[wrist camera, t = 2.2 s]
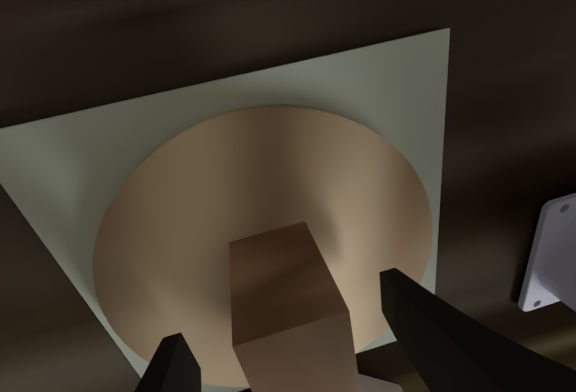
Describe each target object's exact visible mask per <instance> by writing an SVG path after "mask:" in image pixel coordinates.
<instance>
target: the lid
mask: <svg viewBox="0 0 576 392" xmlns="http://www.w3.org/2000/svg"><path fill="white" fill-rule="evenodd" d="M432 237H433V227H432V214H431V209H430V203H429V199H428V197H427V194H426V191H425V188H424V186H423V183H422V182H421V180H420V178H419V176H418V175H417V173H416V171H415V169H414V168H413V167H412V165H411V164H410V163H409V162H408V160H407V159H406V158H405V157H404V156H403V154H402V153H401V152H400V151H399V150H397V149H396V148H395V147H394V146H393V145H392V144H391V143H389V142H388V141H387V140H386V139H385V138H383V137H381V136H380V135H378V134H377V133H375V132H373V131H372V130H370V129H369V128H367V127H365V126H363V125H361V124H359V123H357V122H355V121H352V120H350V119H348V118H345V117H343V116H341V115H338V114H336V113H333V112H329V111H325V110H321V109H317V108H314V107H307V106H298V105H289V104H277V105H257V106H251V107H245V108H239V109H234V110H231V111H227V112H224V113H221V114H218V115H214V116H211V117H208V118H206V119H204V120H202V121H200V122H197V123H195V124H193V125H191V126H189V127H187V128H185V129H183V130H181V131H180V132H178V133H177V134H175V135H174V136H172V137H171V138H169V139H168V140H166V141H164V142H163V143H162V144H160V145H159V146H158V147H157V148H156V149H155V150H154V151H153V152H151V153H150V154H149V155H148V156H147V157H146V158H145V159H143V160H142V162H141V163H140V164H139V165H138V166H137V168H136V169H135V170H134V171H133V172H132V174H131V175H130V176H129V177H128V178H127V180H126V181H125V182H124V183H123V185H122V186H121V187H120V188H119V190H118V191H117V193H116V195H115V196H114V198H113V200H112V201H111V203H110V205H109V206H108V208H107V210H106V211H105V214H104V216H103V219H102V222H101V224H100V227H99V229H98V232H97V236H96V241H95V246H94V251H93V280H94V286H95V291H96V296H97V299H98V301H99V304H100V307H101V309H102V312H103V314H104V316H105V318H106V319H107V321H108V323H109V324H110V326H111V328H112V329H113V331H114V332H115V333H116V334H117V335H118V336H119V338H120V339H121V340H122V341H123V342H124V344H126V345H127V346H128V347H129V348H130V349H131V350H132V351H133V352H135V353H136V354H137V355H138V356H140V357H141V358H143V359H144V360H146V361H147V362H149V363H150V361H151V359H152V357H153V355H154V353H155V351H156V350H157V348H158V346H159V344H160V342H161V340H162V339H163V338H164V337H167V336H170V335H173V334H177V333H180V332H181V333H182V335H183V337H184V339H185V340H186V342H187V344H188V346H189V348H190V350H191V351H192V353H193V355H194V357H195V359H196V360H197V362H198V364H199V366H200V368H201V383H202V384H208V385H215V386H224V387H250V388H251V391H252V392H360V384H359V377H358V370H357V363H356V355H355V354H356V353H357V352H359V351H360V350H362V349H363V348H365V347H366V346H367V345H369V344H370V343H371V342H372V341H374V340H375V339H376V338H377V337H379V336H380V335H381V334H382V333H383V332H384V331H385V330H386V329H387V328H388V327H389V325H388V323H387V321H386V319H385V317H384V315H383V313H382V309H381V292H380V276H379V272H382V271H385V270H388V269H392V268H397V269H398V270H400V271H401V272H403V273H404V274H405V275H407V276H408V277H410V278H411V279H413V280H414V281H415V282H417V283H418V284H420V283H421V280H422V278H423V275H424V273H425V270H426V268H427V264H428V260H429V256H430V252H431V245H432Z"/></svg>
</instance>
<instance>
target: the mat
mask: <svg viewBox="0 0 576 392" xmlns="http://www.w3.org/2000/svg"><path fill="white" fill-rule="evenodd" d="M449 39H450V28H447V29H440V30H436V31H431V32H427V33H423V34H418V35H414V36H409V37H405V38H400V39H396V40H391V41H387V42H383V43H378V44H374V45H369V46H365V47H360V48H356V49H351V50H347V51H343V52H338V53H334V54H329V55H325V56H320V57H316V58H311V59H307V60H303V61H298V62H294V63H289V64H285V65H280V66H276V67H271V68H267V69H263V70H258V71H254V72H249V73H245V74H240V75H236V76H231V77H227V78H223V79H218V80H214V81H209V82H205V83H200V84H196V85H191V86H187V87H183V88H178V89H174V90H169V91H165V92H160V93H156V94H151V95H147V96H143V97H138V98H134V99H129V100H125V101H120V102H116V103H111V104H107V105H103V106H98V107H94V108H89V109H85V110H80V111H76V112H71V113H67V114H63V115H58V116H54V117H49V118H45V119H40V120H36V121H31V122H27V123H23V124H18V125H14V126H9V127H5V128H0V184H1V185H2V186H3V188H4V189H5V190H6V192H7V193H8V195H9V196H10V197H11V199H12V200H13V202H14V203H15V204H16V206H17V207H18V208H19V210H20V211H21V213H22V214H23V215H24V217H25V218H26V220H27V221H28V222H29V224H30V225H31V226H32V228H33V229H34V231H35V232H36V233H37V235H38V236H39V237H40V239H41V240H42V242H43V243H44V244H45V246H46V247H47V249H48V250H49V251H50V253H51V254H52V255H53V257H54V258H55V260H56V261H57V262H58V264H59V265H60V267H61V268H62V269H63V271H64V272H65V273H66V275H67V276H68V278H69V279H70V280H71V282H72V283H73V284H74V286H75V287H76V289H77V290H78V291H79V293H80V294H81V296H82V297H83V298H84V300H85V301H86V302H87V304H88V305H89V307H90V308H91V309H92V311H93V312H94V313H95V315H96V316H97V318H98V319H99V320H100V322H101V323H102V325H103V326H104V327H105V329H106V330H107V331H108V333H109V334H110V336H111V337H112V338H113V340H114V341H115V343H116V344H117V345H118V347H119V348H120V349H121V351H122V352H123V354H124V355H125V356H126V358H127V359H128V360H129V362H130V363H131V365H132V366H133V367H134V369H135V370H136V372H137V373H138V374H139V376H140V377H141V378H142V376H143V374H144V373H145V371H146V369H147V367H148V365H149V362H147V361H146V360H144V359H143V358H141V357H140V356H138V355H137V354H136V353H135V352H133V351H132V350H131V349H130V348H129V347H128V346H127V345H126V344H124V342H123V341H122V340H121V339H120V338H119V336H118V335H117V334H116V333H115V332H114V331H113V329H112V328H111V326H110V324H109V323H108V321H107V319H106V318H105V316H104V314H103V312H102V309H101V307H100V304H99V301H98V299H97V296H96V291H95V286H94V280H93V251H94V246H95V241H96V236H97V232H98V229H99V227H100V224H101V222H102V219H103V216H104V214H105V211H106V210H107V208H108V206H109V205H110V203H111V201H112V200H113V198H114V196H115V195H116V193H117V191H118V190H119V188H120V187H121V186H122V185H123V183H124V182H125V181H126V180H127V178H128V177H129V176H130V175H131V174H132V172H133V171H134V170H135V169H136V168H137V166H138V165H139V164H140V163H141V162H142V160H143V159H145V158H146V157H147V156H148V155H149V154H150V153H151V152H153V151H154V150H155V149H156V148H157V147H158V146H159V145H160V144H162V143H163V142H164V141H166V140H168V139H169V138H171V137H172V136H174V135H175V134H177V133H178V132H180V131H181V130H183V129H185V128H187V127H189V126H191V125H193V124H195V123H197V122H200V121H202V120H204V119H206V118H208V117H211V116H214V115H218V114H221V113H224V112H227V111H231V110H234V109H239V108H245V107H251V106H257V105H277V104H289V105H298V106H307V107H314V108H317V109H321V110H325V111H329V112H333V113H336V114H338V115H341V116H343V117H345V118H348V119H350V120H352V121H355V122H357V123H359V124H361V125H363V126H365V127H367V128H369V129H370V130H372V131H373V132H375V133H377V134H378V135H380V136H381V137H383V138H385V139H386V140H387V141H388V142H389V143H391V144H392V145H393V146H394V147H395V148H396V149H397V150H399V151H400V152H401V153H402V154H403V156H404V157H405V158H406V159H407V160H408V162H409V163H410V164H411V165H412V167H413V168H414V169H415V171H416V173H417V175H418V176H419V178H420V180H421V182H422V183H423V186H424V188H425V191H426V194H427V197H428V199H429V203H430V209H431V214H432V227H433V237H432V245H431V252H430V256H429V260H428V264H427V268H426V270H425V273H424V275H423V278H422V280H421V283H420V285H421V286H423V287H424V288H426V289H427V290H429V291H430V292H432V293H433V294H435V280H436V263H437V245H438V228H439V211H440V194H441V176H442V159H443V142H444V125H445V107H446V90H447V73H448V56H449ZM393 341H397V340H396V338H395V336H394V334H393V332H392V331H391V329H390V327H388V328H387V329H386V330H385V331H384V332H383V333H382V334H381V335H380V336H379V337H377V338H376V339H375V340H374V341H372V342H371V343H370V344H369V345H367V346H366V347H365V348H363V349H362V350H360V351H359V352H362V351H366V350H369V349H372V348H375V347H378V346H381V345H384V344H387V343H390V342H393ZM359 352H357V353H359ZM248 388H250V387H224V386H215V385H208V384H202V383H201V392H238V391H241V390H244V389H248Z"/></svg>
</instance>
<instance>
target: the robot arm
mask: <svg viewBox="0 0 576 392" xmlns="http://www.w3.org/2000/svg"><path fill="white" fill-rule="evenodd" d="M379 276H380V292H381V309H382V313H383V315H384V317H385V319H386V321H387V323H388V325H389V327H390V329H391V331H392V332H393V334H394V336H395V338H396V340H397V341H398V343H399V344H400V346H401V347H402V349H403V351H404V352H405V354H406V355H407V357H408V358H409V360H410V361H411V363H412V364H413V366H414V367H415V369H416V370H417V372H418V373H419V375H420V376H421V378H422V379H423V381H424V382H425V384H426V385H427V387H428V388H429V390H430V391H431V392H576V370H573V369H571V368H569V367H567V366H564V365H562V364H560V363H557V362H555V361H553V360H551V359H548V358H546V357H544V356H542V355H540V354H538V353H536V352H534V351H532V350H530V349H528V348H526V347H524V346H522V345H520V344H518V343H516V342H514V341H512V340H510V339H508V338H506V337H504V336H503V335H501V334H499V333H497V332H495V331H493V330H492V329H490V328H488V327H486V326H485V325H483V324H481V323H479V322H478V321H476V320H474V319H473V318H471V317H469V316H468V315H466V314H464V313H463V312H461V311H459V310H458V309H456V308H455V307H453V306H452V305H450V304H448V303H447V302H445V301H444V300H442V299H441V298H439V297H438V296H436V295H435V294H433V293H432V292H430V291H429V290H427V289H426V288H424V287H423V286H421V285H420V284H418V283H417V282H415V281H414V280H413V279H411V278H410V277H408V276H407V275H405V274H404V273H403V272H401V271H400V270H398V269H397V268H392V269H388V270H385V271H382V272H379ZM558 301H562V302H563V303H565V304H566V305H568V306H569V307H570V308H572V309H573V310H574V311H576V193H574V194H570V195H567V196H563V197H560V198H556V199H553V200H550V201H548V202H546V203H545V204H544V205H543V207H542V209H541V212H540V216H539V220H538V224H537V228H536V232H535V236H534V240H533V245H532V249H531V253H530V257H529V261H528V265H527V269H526V273H525V277H524V281H523V285H522V289H521V293H520V297H519V301H518V307H519V308H521V309H522V310H523V311H530V310H533V309H536V308H539V307H542V306H545V305H548V304H552V303H555V302H558ZM134 392H201V368H200V366H199V364H198V362H197V360H196V359H195V357H194V355H193V353H192V351H191V350H190V348H189V346H188V344H187V342H186V340H185V339H184V337H183V335H182V333H181V332H180V333H177V334H173V335H170V336H167V337H164V338H163V339H162V340H161V342H160V344H159V346H158V348H157V350H156V351H155V353H154V355H153V357H152V359H151V361H150V363H149V365H148V367H147V369H146V371H145V373H144V374H143V376H142V378H141V380H140V382H139V384H138V386H137V388H136V389H135V391H134Z"/></svg>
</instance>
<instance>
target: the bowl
mask: <svg viewBox="0 0 576 392" xmlns="http://www.w3.org/2000/svg"><path fill="white" fill-rule="evenodd" d="M358 377H359V384H360V392H403V391H402V389H401V387H400V385H398V384H395V383H391V382H387V381H384V380H380V379H376V378H373V377H369V376H365V375H362V374H358Z"/></svg>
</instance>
